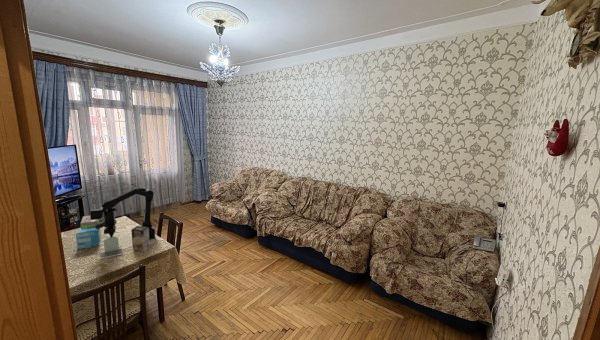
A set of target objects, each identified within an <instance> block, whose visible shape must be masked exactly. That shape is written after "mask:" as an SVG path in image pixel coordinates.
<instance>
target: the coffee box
mask: <svg viewBox="0 0 600 340" xmlns="http://www.w3.org/2000/svg"><path fill="white" fill-rule="evenodd" d="M131 243H132V251H140V252H145V251H147V250H148V249H150V247H151V246H150V245H151V244H150V243H151V242H150V240H149V227H143V226H141V225H136V226H134V227H133V228H132V229H131Z"/></svg>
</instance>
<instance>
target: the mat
mask: <svg viewBox="0 0 600 340" xmlns="http://www.w3.org/2000/svg"><path fill="white" fill-rule="evenodd" d="M120 256H123V247H119V249H114V250H109V251H105V250H104V251H100V256H99V260H101V261H102V260H105V259H109V258H116V257H120Z"/></svg>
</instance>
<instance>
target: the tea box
mask: <svg viewBox="0 0 600 340" xmlns="http://www.w3.org/2000/svg"><path fill="white" fill-rule="evenodd" d="M98 222H100V219H95V220H91V219H90V215H84V216H82V218H81V221H80V223H79V225H80V230H86V229H92V228H95V224H96V223H98ZM98 232H99V235H101V228H100V229H98Z"/></svg>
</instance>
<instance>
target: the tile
mask: <svg viewBox="0 0 600 340" xmlns="http://www.w3.org/2000/svg"><path fill="white" fill-rule="evenodd" d="M103 248H104V251H109V250H114V249H119V248H120V244H119V236H117V235H115V236H113V237H110V236H109V237H106V238H103Z"/></svg>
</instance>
